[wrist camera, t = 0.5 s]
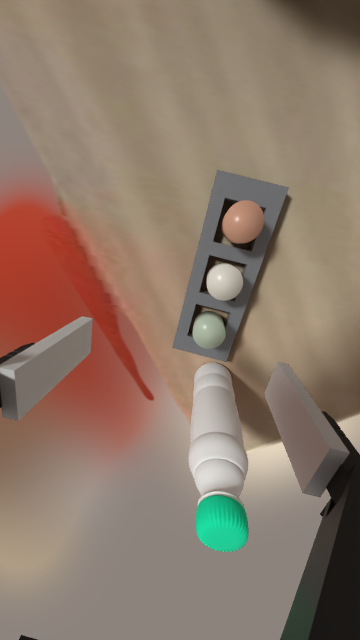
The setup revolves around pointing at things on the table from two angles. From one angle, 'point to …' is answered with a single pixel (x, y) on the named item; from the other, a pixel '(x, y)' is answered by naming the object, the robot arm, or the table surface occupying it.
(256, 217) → the button terracotta
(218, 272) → the button ivory
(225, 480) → the water bottle
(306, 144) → the table surface
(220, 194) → the panel
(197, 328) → the button sage
